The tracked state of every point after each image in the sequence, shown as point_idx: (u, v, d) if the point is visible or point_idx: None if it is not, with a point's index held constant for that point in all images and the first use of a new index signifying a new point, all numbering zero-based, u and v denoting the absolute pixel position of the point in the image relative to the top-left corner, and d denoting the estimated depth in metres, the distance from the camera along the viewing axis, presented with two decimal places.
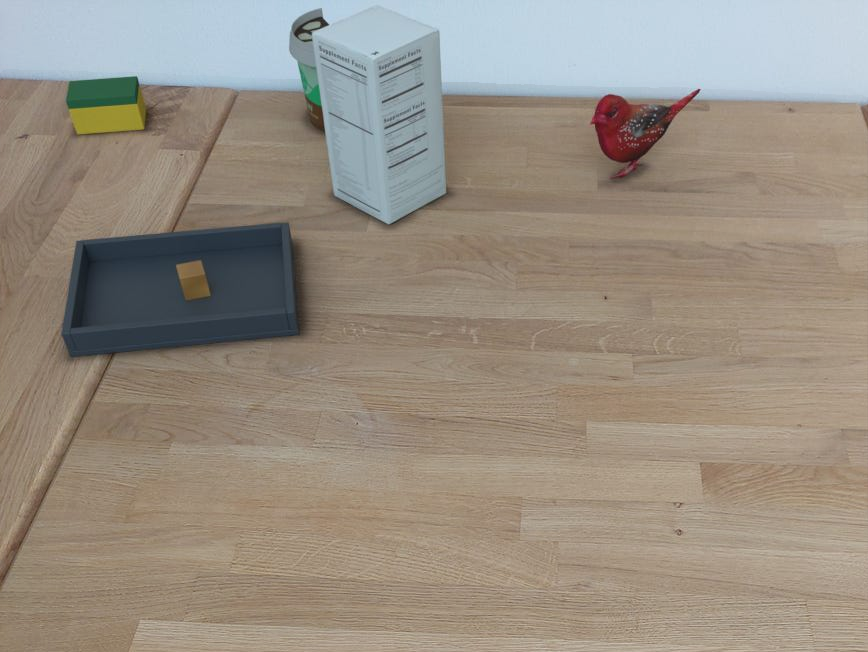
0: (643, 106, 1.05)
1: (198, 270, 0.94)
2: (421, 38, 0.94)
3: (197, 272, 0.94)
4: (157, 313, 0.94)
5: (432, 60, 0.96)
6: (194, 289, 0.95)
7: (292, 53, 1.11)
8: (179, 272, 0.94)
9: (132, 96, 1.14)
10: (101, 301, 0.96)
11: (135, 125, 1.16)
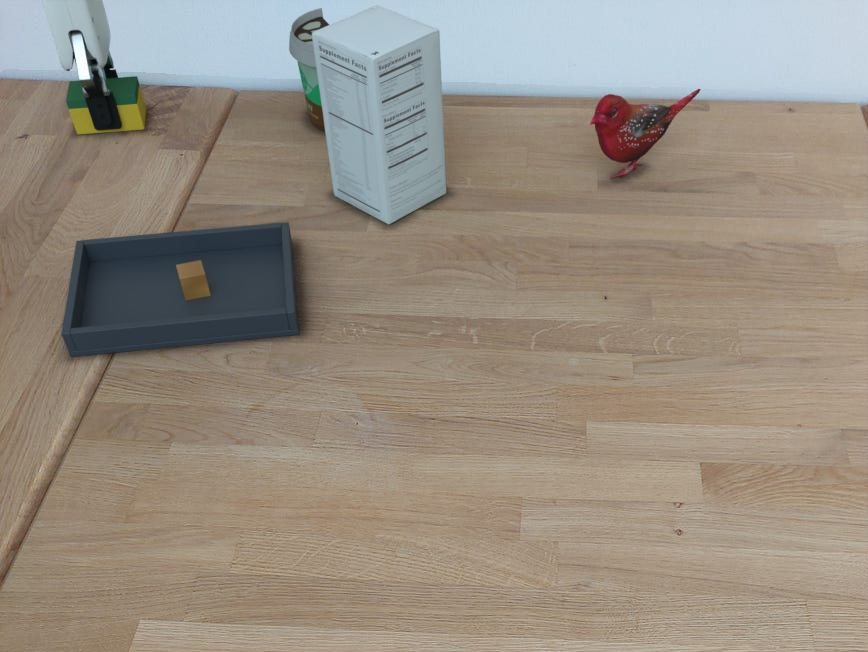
0: (643, 106, 1.05)
1: (198, 270, 0.94)
2: (421, 38, 0.94)
3: (197, 272, 0.94)
4: (157, 313, 0.94)
5: (432, 60, 0.96)
6: (194, 289, 0.95)
7: (292, 53, 1.11)
8: (179, 272, 0.94)
9: (132, 96, 1.14)
10: (101, 301, 0.96)
11: (135, 125, 1.16)
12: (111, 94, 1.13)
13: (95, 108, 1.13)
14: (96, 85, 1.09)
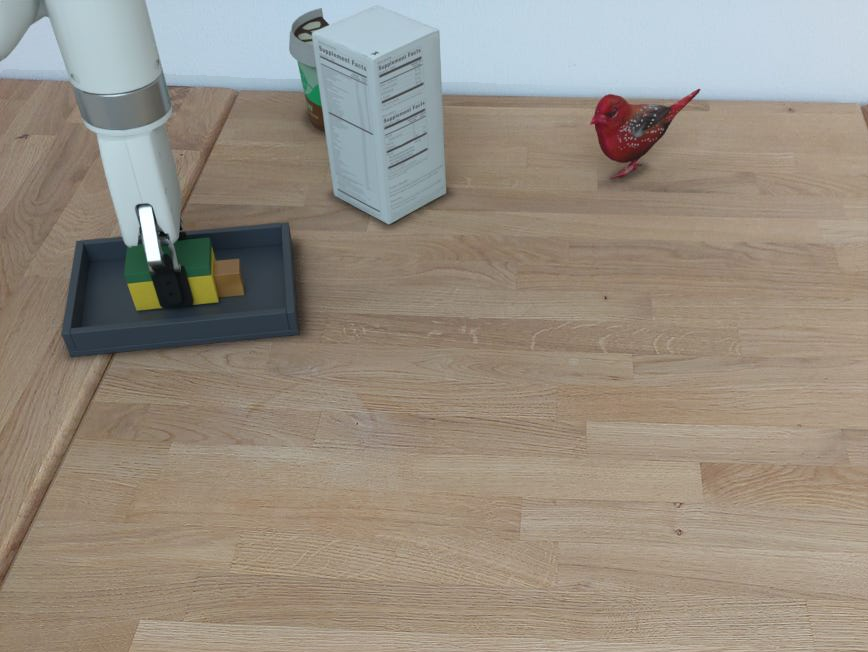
0: (643, 106, 1.05)
1: (233, 268, 0.94)
2: (421, 38, 0.94)
3: (232, 271, 0.94)
4: (157, 313, 0.94)
5: (432, 60, 0.96)
6: (228, 287, 0.95)
7: (292, 53, 1.11)
8: (215, 269, 0.94)
9: (206, 267, 0.92)
10: (101, 301, 0.96)
11: (207, 298, 0.95)
12: (183, 269, 0.91)
13: (163, 286, 0.91)
14: (167, 264, 0.88)
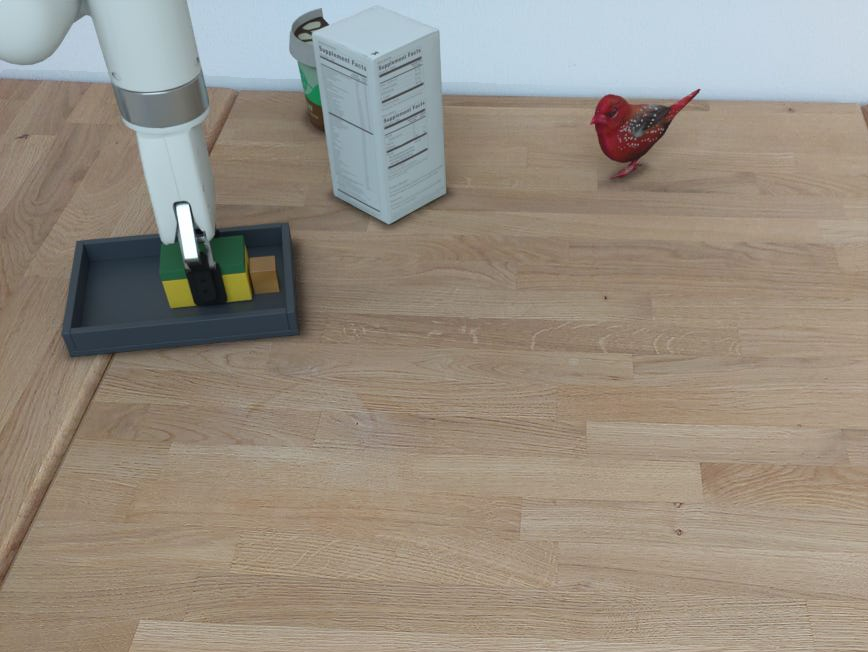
0: (643, 106, 1.05)
1: (269, 265, 0.95)
2: (421, 38, 0.94)
3: (268, 267, 0.95)
4: (157, 313, 0.94)
5: (432, 60, 0.96)
6: (263, 284, 0.95)
7: (292, 53, 1.11)
8: (251, 265, 0.95)
9: (240, 265, 0.92)
10: (101, 301, 0.96)
11: (241, 296, 0.95)
12: (217, 266, 0.91)
13: (197, 283, 0.92)
14: (203, 261, 0.88)
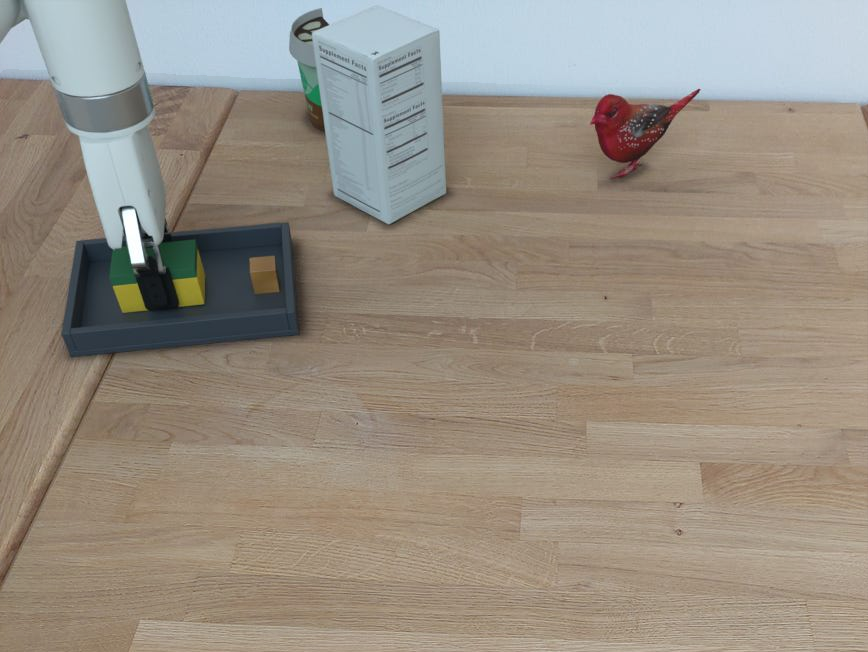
0: (643, 106, 1.05)
1: (269, 265, 0.95)
2: (421, 38, 0.94)
3: (268, 267, 0.95)
4: (157, 313, 0.94)
5: (432, 60, 0.96)
6: (263, 284, 0.95)
7: (292, 53, 1.11)
8: (251, 265, 0.95)
9: (191, 269, 0.92)
10: (101, 301, 0.96)
11: (193, 300, 0.94)
12: (167, 271, 0.91)
13: (148, 288, 0.91)
14: (151, 266, 0.88)
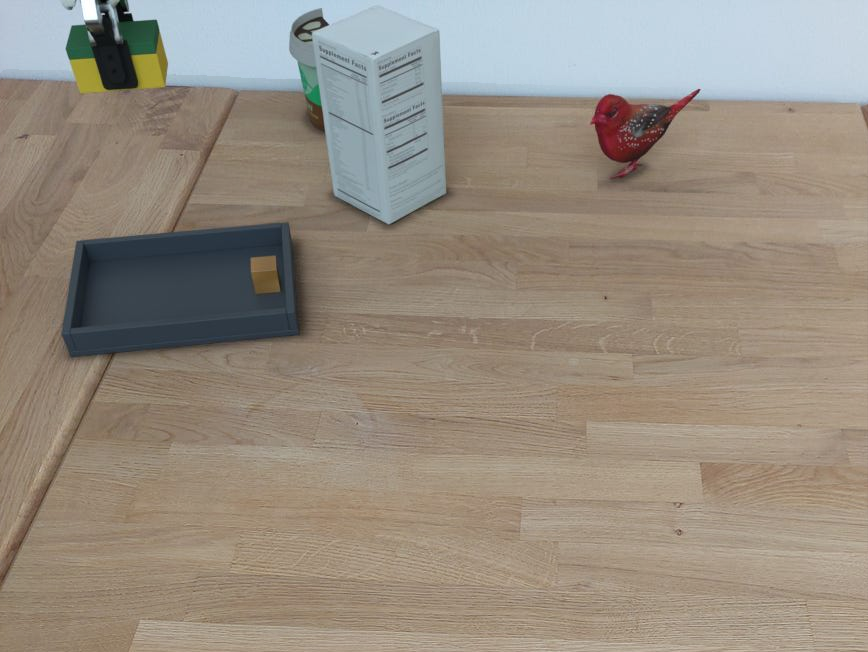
0: (643, 106, 1.05)
1: (270, 265, 0.95)
2: (421, 38, 0.94)
3: (269, 267, 0.95)
4: (157, 313, 0.94)
5: (432, 60, 0.96)
6: (264, 283, 0.95)
7: (292, 53, 1.11)
8: (252, 265, 0.95)
9: (150, 43, 0.89)
10: (101, 301, 0.96)
11: (153, 82, 0.92)
12: (125, 42, 0.88)
13: (104, 60, 0.88)
14: (106, 29, 0.85)
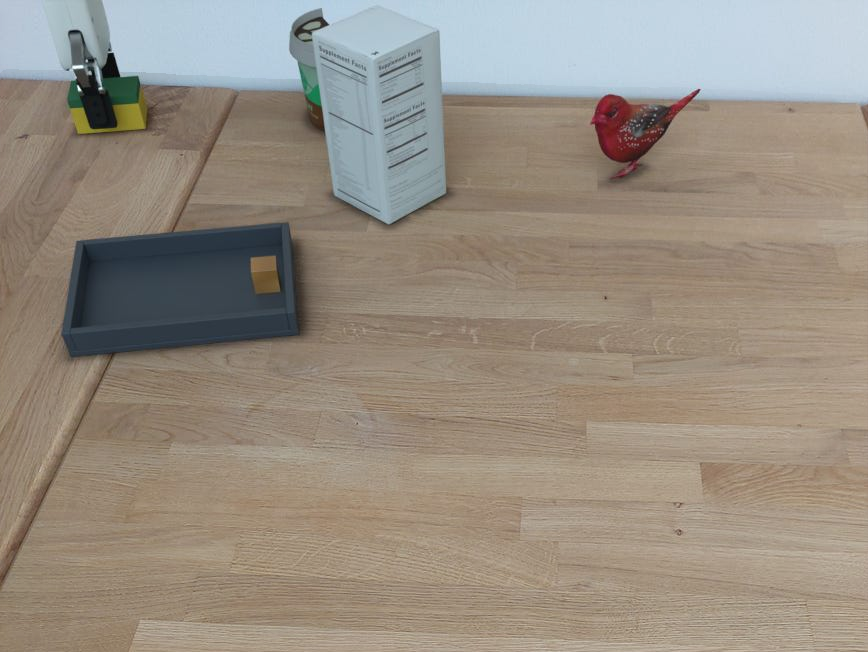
0: (643, 106, 1.05)
1: (270, 265, 0.95)
2: (421, 38, 0.94)
3: (269, 267, 0.95)
4: (157, 313, 0.94)
5: (432, 60, 0.96)
6: (264, 283, 0.95)
7: (292, 53, 1.11)
8: (252, 265, 0.95)
9: (133, 95, 1.14)
10: (101, 301, 0.96)
11: (136, 125, 1.17)
12: (106, 92, 1.11)
13: (90, 106, 1.11)
14: (90, 81, 1.07)
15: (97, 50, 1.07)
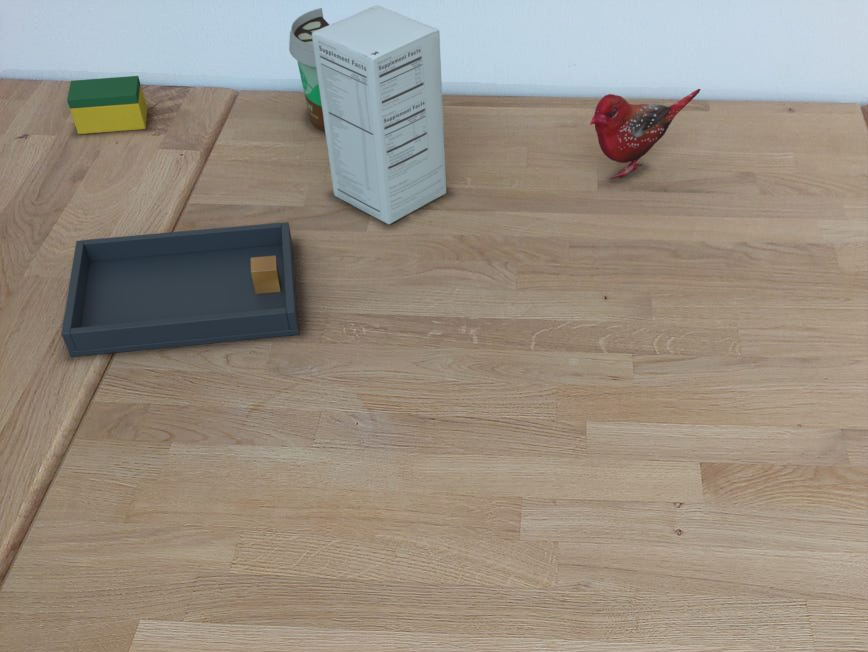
0: (643, 106, 1.05)
1: (270, 265, 0.95)
2: (421, 38, 0.94)
3: (269, 267, 0.95)
4: (157, 313, 0.94)
5: (432, 60, 0.96)
6: (264, 283, 0.95)
7: (292, 53, 1.11)
8: (252, 265, 0.95)
9: (133, 96, 1.14)
10: (101, 301, 0.96)
11: (136, 125, 1.17)
12: None
13: None
14: None
15: None
